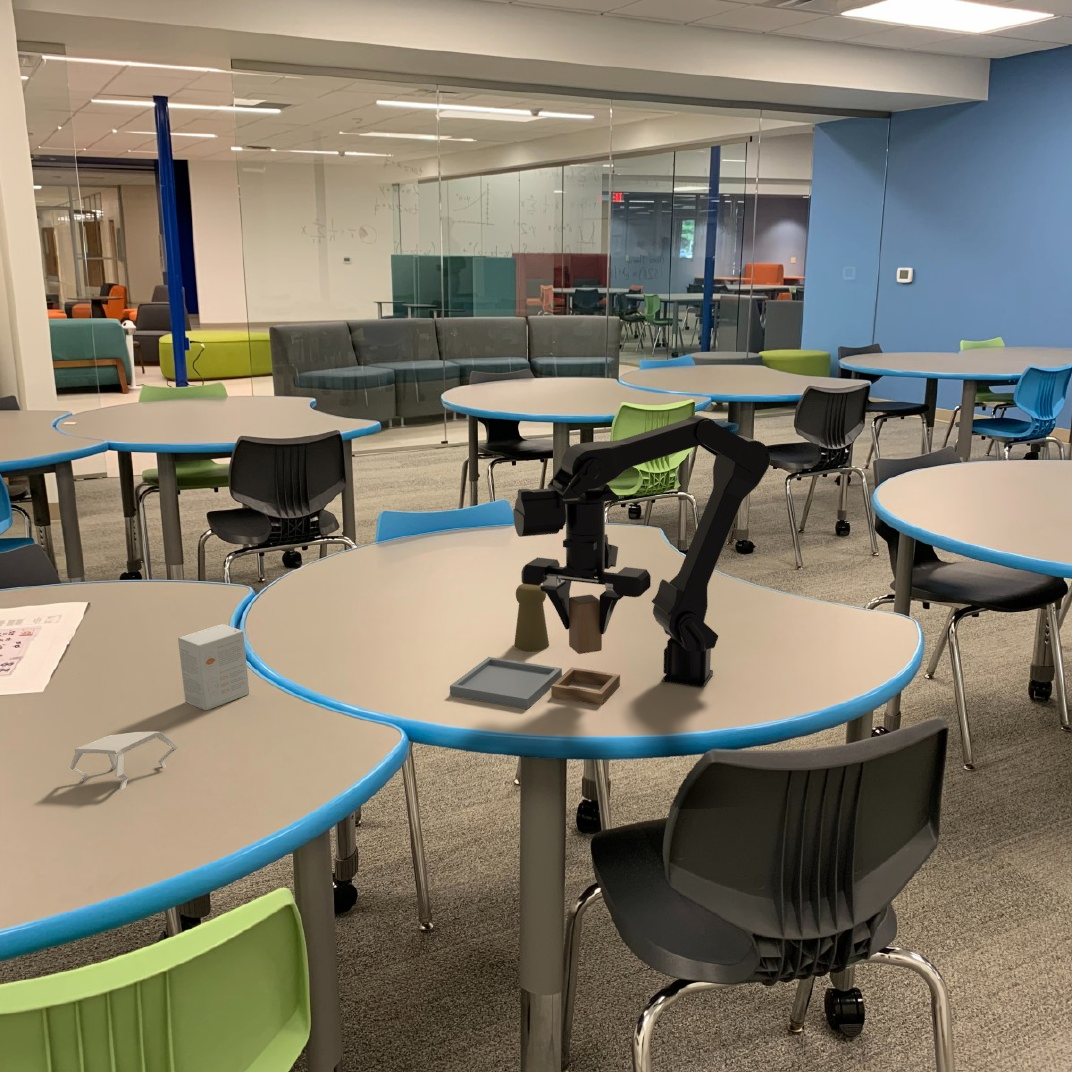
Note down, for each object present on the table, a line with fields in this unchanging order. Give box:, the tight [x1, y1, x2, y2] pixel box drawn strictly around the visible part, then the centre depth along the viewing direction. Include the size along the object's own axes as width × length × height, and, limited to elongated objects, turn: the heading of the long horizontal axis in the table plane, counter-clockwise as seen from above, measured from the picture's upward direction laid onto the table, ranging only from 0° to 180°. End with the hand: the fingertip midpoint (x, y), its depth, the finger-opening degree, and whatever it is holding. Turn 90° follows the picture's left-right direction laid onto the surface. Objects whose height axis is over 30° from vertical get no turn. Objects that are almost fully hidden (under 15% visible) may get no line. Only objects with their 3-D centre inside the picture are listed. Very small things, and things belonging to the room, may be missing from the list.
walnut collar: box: [550, 666, 621, 706], centre depth 155 cm, size 8×8×2 cm
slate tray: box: [449, 656, 563, 710], centre depth 157 cm, size 13×13×2 cm
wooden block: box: [568, 594, 603, 655], centre depth 152 cm, size 4×4×8 cm
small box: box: [177, 623, 250, 711], centre depth 153 cm, size 8×6×10 cm
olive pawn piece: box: [513, 583, 550, 652], centre depth 173 cm, size 6×6×11 cm
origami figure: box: [70, 731, 179, 791], centre depth 130 cm, size 12×8×5 cm
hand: (585, 631), depth 153 cm, fingers closed on wooden block, 5 cm apart
